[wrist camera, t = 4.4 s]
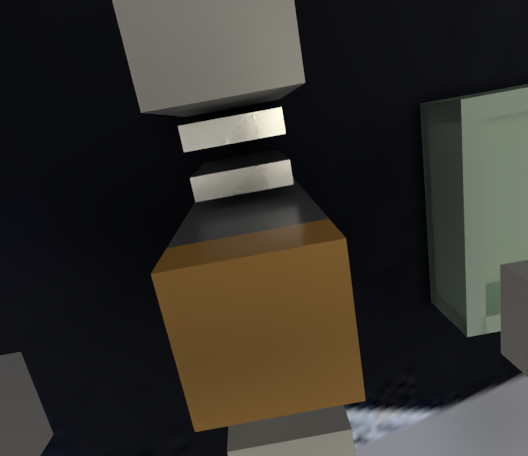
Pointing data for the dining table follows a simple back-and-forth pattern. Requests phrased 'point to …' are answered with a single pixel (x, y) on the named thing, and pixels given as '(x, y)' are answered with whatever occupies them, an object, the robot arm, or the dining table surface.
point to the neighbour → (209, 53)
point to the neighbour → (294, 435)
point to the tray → (475, 200)
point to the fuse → (260, 308)
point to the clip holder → (240, 167)
